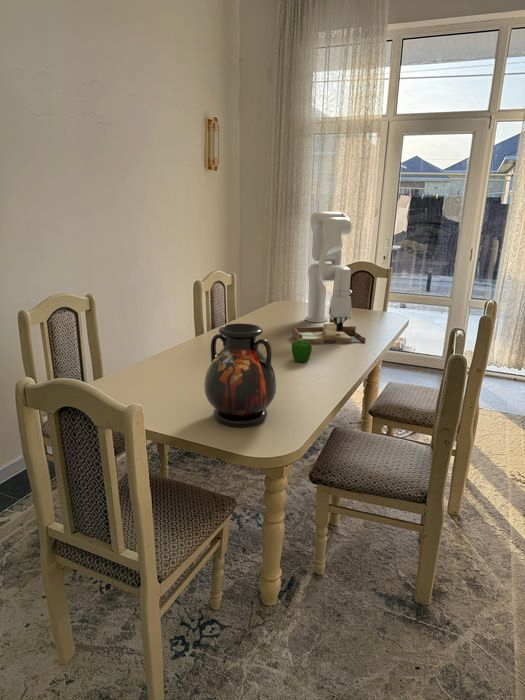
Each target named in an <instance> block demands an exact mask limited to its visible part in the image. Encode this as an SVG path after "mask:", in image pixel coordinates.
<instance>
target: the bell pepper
mask: <svg viewBox="0 0 525 700" xmlns="http://www.w3.org/2000/svg"><path fill="white" fill-rule="evenodd" d="M312 347H313V346H312V344H310V343H309V342H308V341H306V342H303V340H302V339H299V341H296V340H295V341H292V344H291V353H292V357H293V360H294V361H295V362H296V363H305V362H308V361H309V360H310V357H311V355H312V352H313V351H312V350H313V348H312Z"/></svg>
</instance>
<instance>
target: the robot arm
mask: <svg viewBox="0 0 525 700" xmlns="http://www.w3.org/2000/svg"><path fill="white" fill-rule="evenodd" d="M310 227H311V232H312V248H311V258H312V260H313V261H315V262H318V263H313V264H311V265H310V266H308V270H307V271H308V272H307V274H308V275H307V276H308V304H307V305H308V306H307V316H305V317H304V319H305V321H306V320H307V322H311V323H326V322H327V321H328V319H329V320H330V319H332V320H334V321H335V322H336V325H337V327H336V329H337V331H338V332H340V331H342V329H343V326H344V323H345V322H346V321H347V320H351V319H352V317H351V316H352V297H351V296H350V295H351V294H353V291H352V290H351V289H350V288H351V273H352V271H351V270H352V269H351V268H350V267H348V265H345V264H342V248H343V240H342V235H343V236H345V235H346V236H348V235H349V234H351V231H352V221H351V219H350V217H348V215H346V213H344V212H343V211H315V212H313V213H312V214H311V216H310ZM326 262H331V263H326ZM323 282H333V295H331V298H330V301H329V309H328V315H329V317H326V302H327V300H326V299H327V287H326V286H325V284H324V283H323ZM339 317H341V319H340V322H339Z"/></svg>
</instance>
